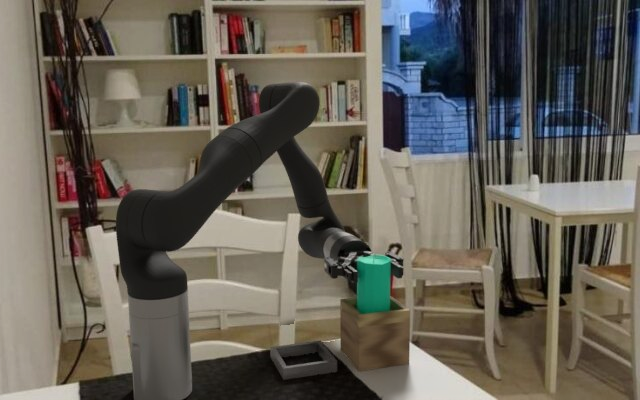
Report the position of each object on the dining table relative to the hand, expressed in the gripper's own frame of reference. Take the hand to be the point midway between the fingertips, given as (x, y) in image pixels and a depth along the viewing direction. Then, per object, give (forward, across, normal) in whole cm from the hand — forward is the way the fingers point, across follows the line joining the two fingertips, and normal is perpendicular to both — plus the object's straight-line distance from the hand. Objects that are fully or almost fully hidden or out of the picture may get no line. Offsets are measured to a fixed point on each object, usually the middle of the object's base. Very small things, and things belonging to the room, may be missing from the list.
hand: (378, 275), depth 111 cm
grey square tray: (-3, -13, +16) cm, 21 cm away
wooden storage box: (-2, 0, +16) cm, 16 cm away
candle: (-2, 0, +8) cm, 8 cm away
